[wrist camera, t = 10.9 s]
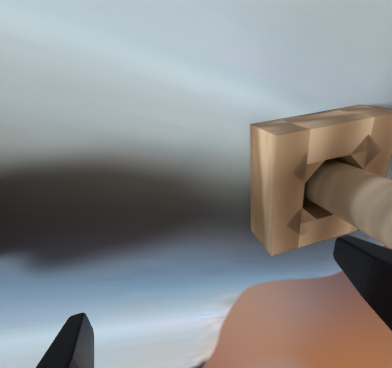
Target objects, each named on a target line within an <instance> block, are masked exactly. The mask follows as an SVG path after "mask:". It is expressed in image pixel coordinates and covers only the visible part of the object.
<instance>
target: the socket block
mask: <svg viewBox="0 0 392 368" xmlns="http://www.w3.org/2000/svg"><path fill="white" fill-rule="evenodd" d="M250 146H251V231H252V232H253V233H254V234H255V236H256V237H257V238H258V240H259V241H260V242H261V243H262V245H263V246H264V247H265V248H266V250H267V251H268V252H269V253H270V255H271V256H272V255H276V254H279V253H282V252H286V251H289V250H293V249H296V248H299V247H303V246H306V245H310V244H313V243H316V242H320V241H323V240H327V239H330V238H333V237H337V236H340V235H343V234H347V233H350V232H354V231H357V230H359V229H357V228H356V227H354V226H352V225H351V224H349V223H347V222H346V221H344V220H342V219H341V218H339V217H337V216H336V215H334V214H332V213H330V212H329V211H327V210H325V209H324V208H322V207H320V206H319V205H317V204H315V203H314V202H312V201H310V200H309V199H307V198H305V197H304V187H305V183H306V182H307V180H308V179H309V178H310V177H311V176H312V175H313V174H314V172H315V171H316V170H317V169H318V168H319V167H320V166H321V165H322V163H323V162H324V161H325V160H328V159H333V160H336V161H338V162H341V163H344V164H347V165H350V166H353V167H356V168H359V169H362V170H365V171H368V172H371V173H374V174H377V175H380V176H383V177H386V174H387V170H388V166H389V163H390V159H391V155H392V110H390V109H384V108H377V107H370V106H364V105H356V106H351V107H345V108H340V109H334V110H328V111H323V112H317V113H312V114H306V115H300V116H295V117H289V118H284V119H278V120H272V121H267V122H261V123H256V124H250Z"/></svg>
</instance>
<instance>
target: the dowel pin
mask: <svg viewBox="0 0 392 368" xmlns="http://www.w3.org/2000/svg"><path fill="white" fill-rule="evenodd" d="M304 197H305V198H307V199H309V200H310V201H312V202H314V203H315V204H317V205H319V206H320V207H322V208H324V209H325V210H327V211H329V212H330V213H332V214H334V215H336V216H337V217H339V218H341V219H342V220H344V221H346V222H347V223H349V224H351V225H352V226H354V227H356V228H357V229H359V230H361V231H362V232H364V233H366V234H367V235H369V236H371V237H372V238H374V239H376V240H377V241H379V242H381V243H383V244H384V245H386V246H388V247H389V248H391V249H392V179H389V178H386V177H383V176H380V175H377V174H374V173H371V172H368V171H365V170H362V169H359V168H356V167H353V166H350V165H347V164H344V163H341V162H338V161H336V160H333V159H328V160H325V161H324V162H323V163H322V165H321V166H320V167H319V168H318V169H317V170H316V171H315V172H314V174H313V175H312V176H311V177H310V178H309V179H308V180H307V182H306V183H305V187H304Z"/></svg>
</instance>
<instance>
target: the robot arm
mask: <svg viewBox="0 0 392 368" xmlns="http://www.w3.org/2000/svg"><path fill="white" fill-rule="evenodd" d="M333 256H334V259H335V261H336V262H337V264H338V265H339V266H340V268H341V269H342V270H343V272H344V273H345V274H346V276H347V277H348V279H349V280H350V281H351V283H352V284H353V285H354V287H355V288H356V289H357V291H358V292H359V293H360V295H361V296H362V297H363V298H364V300H365V301H366V302H367V303H368V304H369V305H370V307H371V308H372V309H373V310H374V311H375V312H376V313H377V314H378V316H379V317H380V318H381V319H382V320H383V321H384V322H385V324H386V325H387V326H388V327H389V328H390V329H391V330H392V250H391V249H387V248H385V247H382V246H379V245H376V244H373V243H370V242H367V241H364V240H361V239H359V238H356V237H353V236H350V235H345V236H341V237H338V238H337V239H336V242H335V247H334V252H333ZM36 368H94V332H93V328H92V326H91V324H90V322H89V320H88V318H87V316H86V314H85V313H80V314H76V315H73V316H71V317H69V318H68V320H67V321H66V323H65V324H64V326H63V327H62V329H61V330H60V332H59V333H58V335H57V336H56V338H55V340H54V341H53V343H52V344H51V346H50V347H49V349H48V350H47V352H46V353H45V355H44V356H43V358H42V359H41V361H40V362H39V364H38V365H37V367H36Z"/></svg>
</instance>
